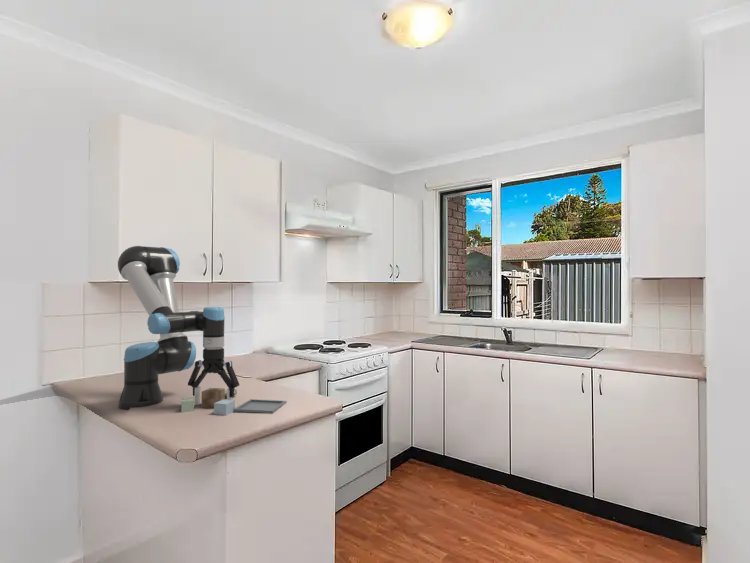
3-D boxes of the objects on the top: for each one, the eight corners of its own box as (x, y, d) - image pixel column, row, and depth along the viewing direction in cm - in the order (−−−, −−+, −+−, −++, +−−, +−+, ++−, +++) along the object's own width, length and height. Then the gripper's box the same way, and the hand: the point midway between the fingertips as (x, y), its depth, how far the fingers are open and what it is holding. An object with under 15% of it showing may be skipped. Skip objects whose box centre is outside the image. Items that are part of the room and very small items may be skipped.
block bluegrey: (214, 414, 154) (214, 403, 154) (222, 410, 159) (222, 399, 159) (226, 415, 153) (226, 404, 153) (234, 411, 158) (234, 400, 158)
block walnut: (201, 407, 162) (201, 391, 162) (210, 403, 168) (210, 387, 168) (216, 408, 161) (216, 392, 161) (224, 404, 167) (224, 388, 167)
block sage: (181, 412, 156) (181, 401, 156) (182, 409, 160) (182, 398, 160) (193, 411, 158) (193, 400, 158) (194, 408, 162) (194, 397, 162)
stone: (212, 399, 172) (212, 392, 172) (210, 396, 178) (210, 390, 179) (237, 396, 176) (237, 389, 176) (235, 393, 182) (235, 387, 183)
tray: (233, 412, 156) (233, 408, 156) (250, 402, 170) (250, 399, 170) (272, 414, 154) (272, 410, 154) (286, 404, 167) (286, 400, 167)
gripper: (177, 348, 163) (177, 406, 163) (239, 350, 159) (239, 409, 159) (189, 345, 171) (189, 401, 170) (248, 347, 167) (248, 403, 167)
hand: (213, 405), depth 165 cm, fingers open, 12 cm apart
